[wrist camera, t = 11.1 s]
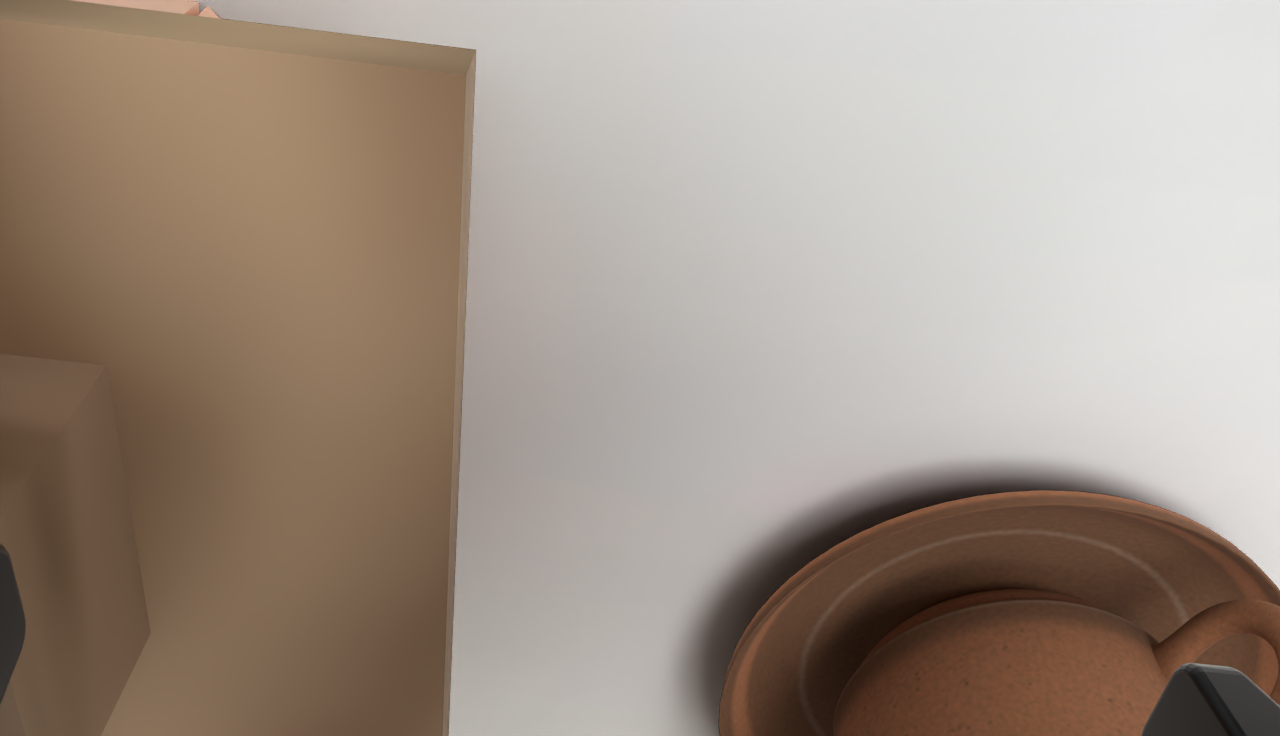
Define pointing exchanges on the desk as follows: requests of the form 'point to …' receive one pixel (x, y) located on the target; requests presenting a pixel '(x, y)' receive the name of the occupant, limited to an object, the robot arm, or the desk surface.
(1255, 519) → the desk surface
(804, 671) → the cup and saucer
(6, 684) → the robot arm
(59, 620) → the lid
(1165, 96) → the desk surface
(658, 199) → the desk surface
